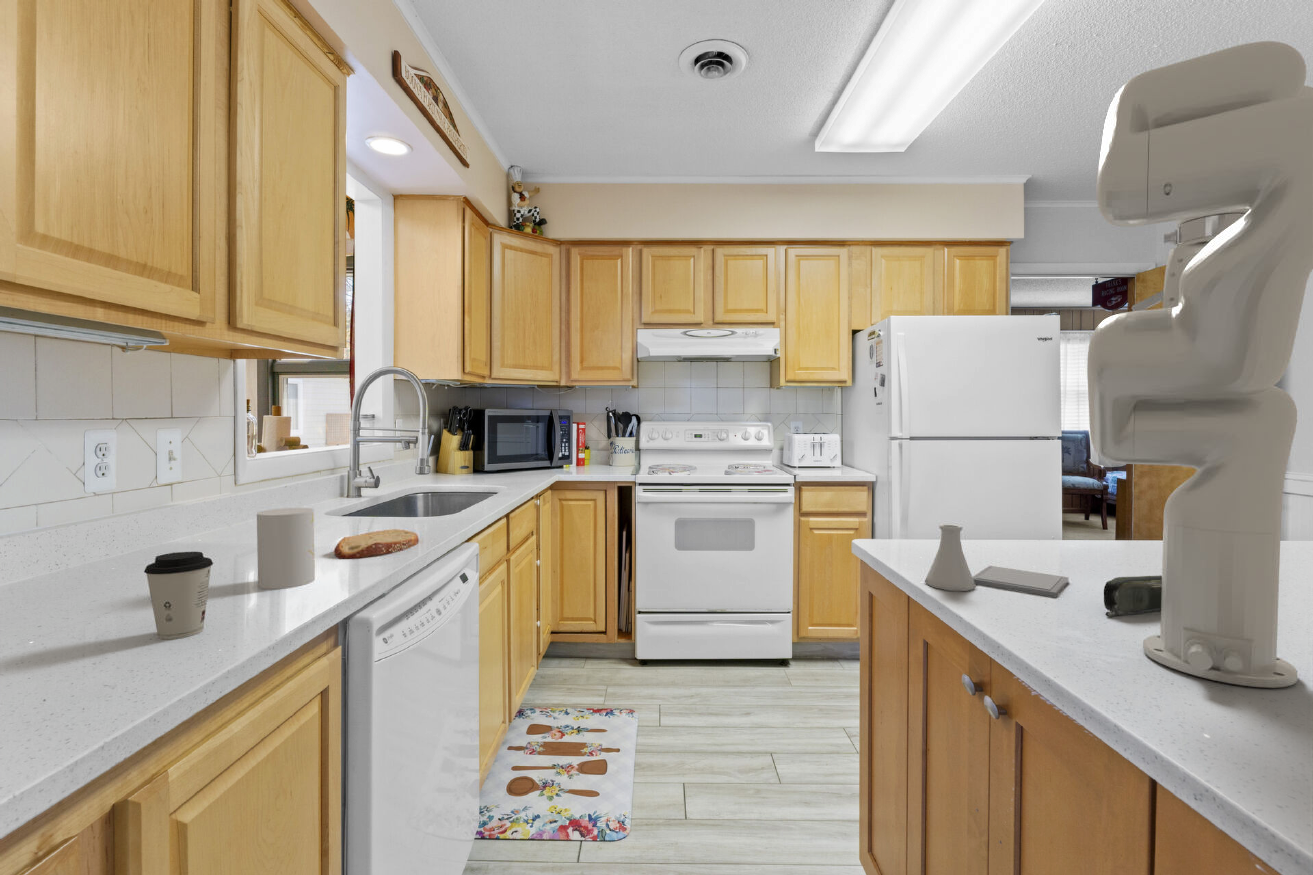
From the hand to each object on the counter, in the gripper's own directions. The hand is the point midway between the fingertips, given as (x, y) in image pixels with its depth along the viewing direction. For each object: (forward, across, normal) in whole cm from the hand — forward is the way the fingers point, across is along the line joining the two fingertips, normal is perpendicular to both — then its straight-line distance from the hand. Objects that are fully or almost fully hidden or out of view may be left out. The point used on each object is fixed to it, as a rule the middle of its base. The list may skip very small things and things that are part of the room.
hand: (1208, 358), depth 85 cm
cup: (+36, -117, -78) cm, 145 cm away
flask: (+36, -31, -8) cm, 48 cm away
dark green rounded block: (+36, -7, -4) cm, 37 cm away
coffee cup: (+36, -100, -96) cm, 144 cm away
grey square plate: (+36, -23, +1) cm, 43 cm away
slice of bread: (+36, -132, -56) cm, 148 cm away
